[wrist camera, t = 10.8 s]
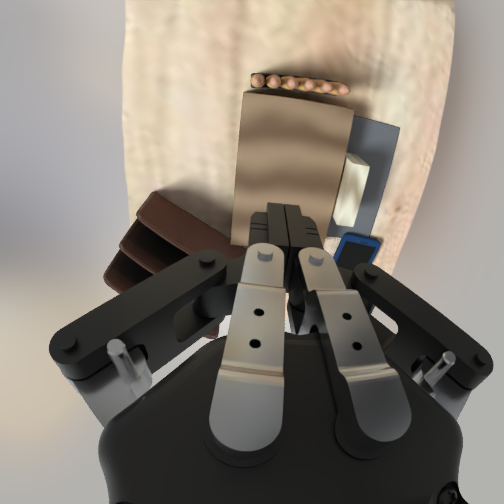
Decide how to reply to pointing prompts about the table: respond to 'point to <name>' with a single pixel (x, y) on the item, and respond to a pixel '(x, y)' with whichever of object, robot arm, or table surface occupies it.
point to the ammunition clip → (298, 84)
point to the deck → (288, 158)
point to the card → (350, 190)
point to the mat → (379, 159)
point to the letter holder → (163, 245)
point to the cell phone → (355, 251)
